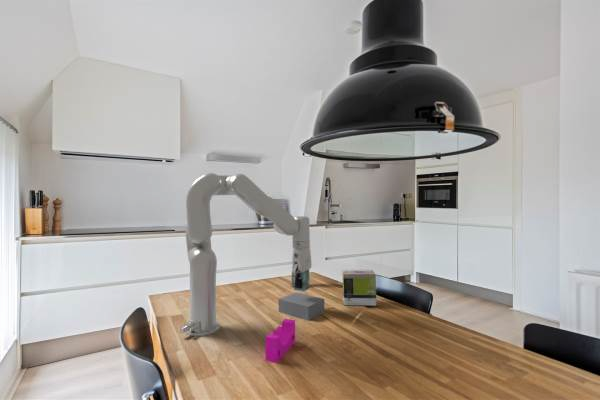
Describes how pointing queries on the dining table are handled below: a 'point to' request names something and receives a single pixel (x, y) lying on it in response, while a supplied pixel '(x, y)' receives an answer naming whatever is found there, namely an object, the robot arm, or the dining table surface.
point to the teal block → (303, 281)
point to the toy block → (280, 340)
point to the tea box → (359, 287)
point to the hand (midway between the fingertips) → (301, 285)
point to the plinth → (301, 306)
